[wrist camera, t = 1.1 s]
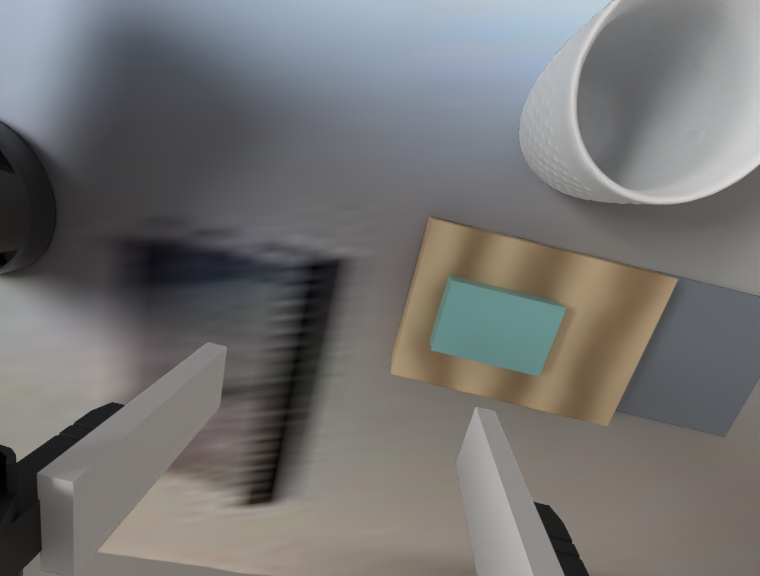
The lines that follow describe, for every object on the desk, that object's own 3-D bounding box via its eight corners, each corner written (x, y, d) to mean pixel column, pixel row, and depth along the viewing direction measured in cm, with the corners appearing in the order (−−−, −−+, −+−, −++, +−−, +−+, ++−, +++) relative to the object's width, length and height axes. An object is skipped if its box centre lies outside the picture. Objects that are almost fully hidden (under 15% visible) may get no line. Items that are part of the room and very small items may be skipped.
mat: (585, 401, 36) (587, 403, 35) (645, 268, 32) (648, 269, 31) (720, 434, 36) (724, 436, 35) (796, 305, 32) (801, 306, 31)
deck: (391, 354, 36) (390, 373, 32) (428, 215, 32) (432, 219, 28) (585, 401, 36) (607, 426, 32) (645, 268, 32) (678, 279, 28)
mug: (647, -11, 27) (868, -195, 14) (706, 119, 28) (948, 61, 16) (473, 115, 29) (526, 58, 17) (538, 226, 31) (629, 247, 19)
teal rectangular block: (429, 340, 31) (431, 350, 29) (448, 274, 29) (452, 280, 27) (530, 364, 31) (539, 376, 29) (555, 300, 29) (566, 308, 27)
